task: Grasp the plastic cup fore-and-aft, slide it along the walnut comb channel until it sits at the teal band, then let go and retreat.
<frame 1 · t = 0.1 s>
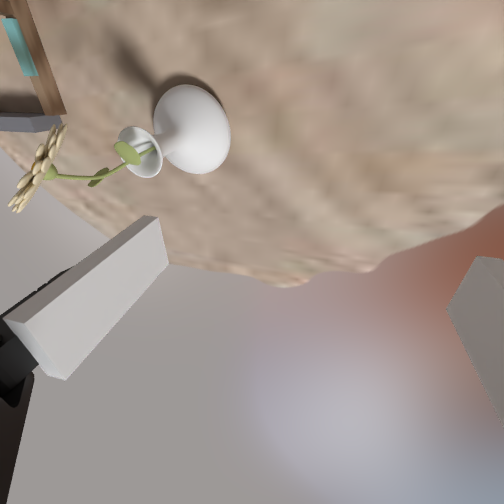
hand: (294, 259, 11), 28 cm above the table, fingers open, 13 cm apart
flower in vase: (192, 132, 38), on the table
end stop: (29, 119, 43), on the table
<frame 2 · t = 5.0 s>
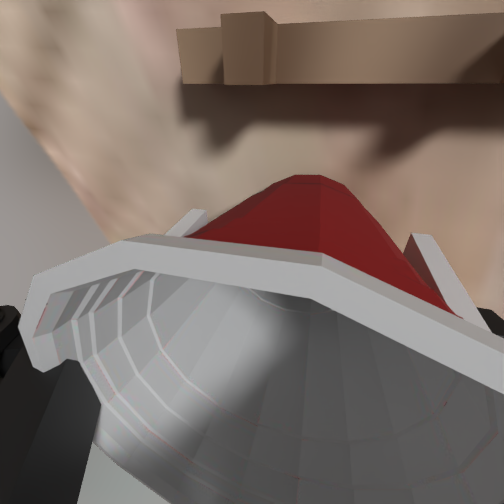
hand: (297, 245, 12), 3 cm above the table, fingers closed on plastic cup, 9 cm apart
plastic cup: (303, 220, 15), on the table, touching gripper
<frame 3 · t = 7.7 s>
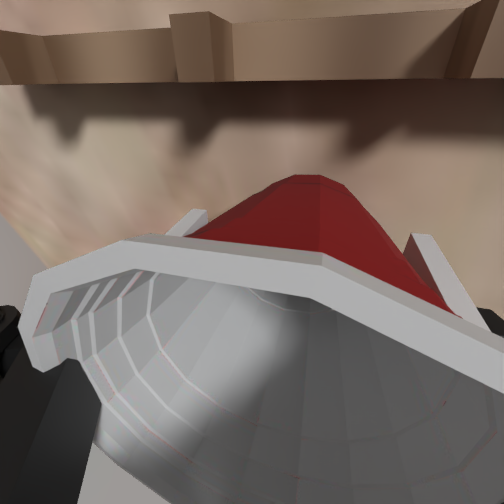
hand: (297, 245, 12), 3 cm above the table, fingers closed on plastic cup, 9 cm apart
comb channel: (312, 220, 14), on the table
plastic cup: (302, 220, 15), on the table, touching gripper
when the fingers open (3 cm above the table, at t = 10.8 s): plastic cup moves 3 cm, on the table.
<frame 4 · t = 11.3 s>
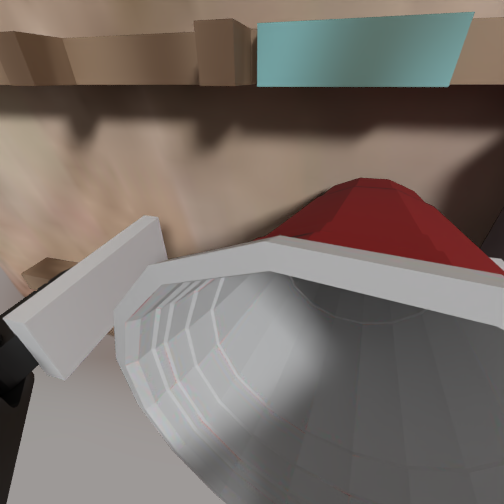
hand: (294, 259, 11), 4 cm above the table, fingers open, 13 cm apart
comb channel: (191, 206, 16), on the table
plastic cup: (360, 225, 14), on the table, touching gripper
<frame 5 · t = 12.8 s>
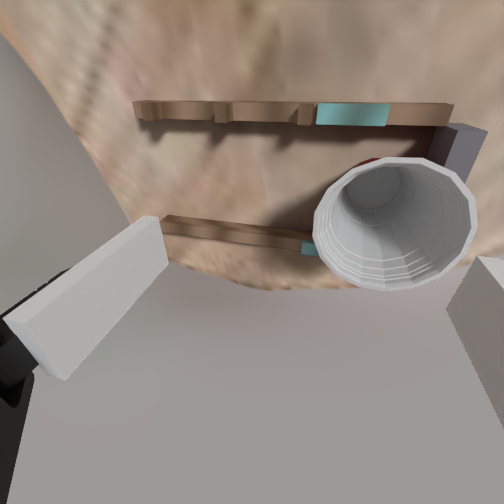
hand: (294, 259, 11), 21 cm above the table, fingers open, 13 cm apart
comb channel: (268, 178, 31), on the table
end stop: (425, 190, 28), on the table
plastic cup: (370, 182, 29), on the table
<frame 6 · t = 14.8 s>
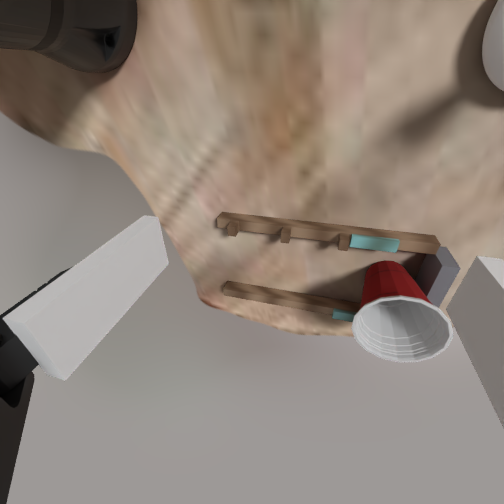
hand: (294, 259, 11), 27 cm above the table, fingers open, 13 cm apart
comb channel: (309, 265, 44), on the table
end stop: (421, 281, 40), on the table
plastic cup: (383, 273, 41), on the table
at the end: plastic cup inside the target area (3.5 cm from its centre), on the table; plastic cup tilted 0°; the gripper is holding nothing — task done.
